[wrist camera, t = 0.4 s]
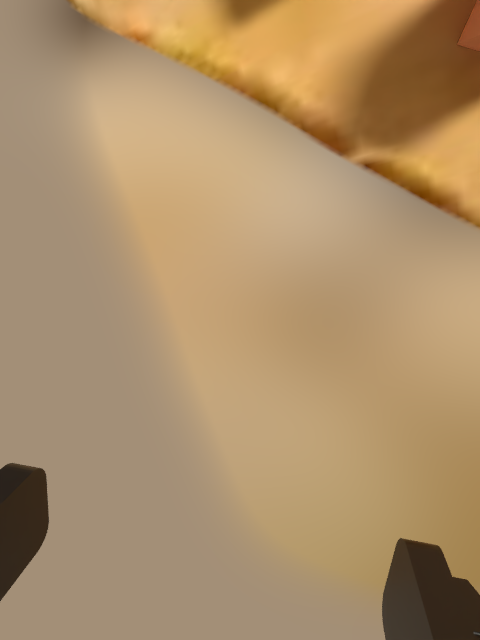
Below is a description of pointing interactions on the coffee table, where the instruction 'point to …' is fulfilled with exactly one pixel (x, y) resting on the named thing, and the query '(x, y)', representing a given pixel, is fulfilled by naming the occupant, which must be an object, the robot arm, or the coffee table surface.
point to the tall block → (472, 30)
